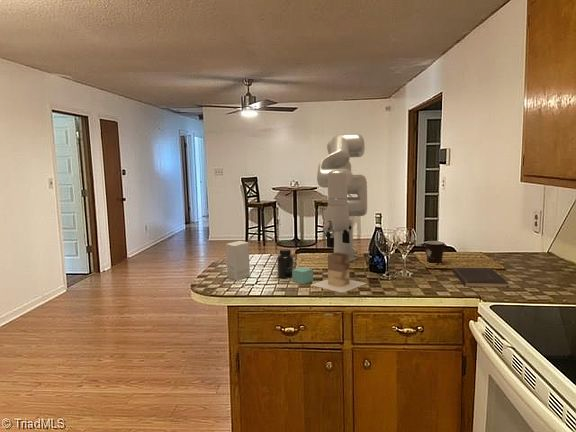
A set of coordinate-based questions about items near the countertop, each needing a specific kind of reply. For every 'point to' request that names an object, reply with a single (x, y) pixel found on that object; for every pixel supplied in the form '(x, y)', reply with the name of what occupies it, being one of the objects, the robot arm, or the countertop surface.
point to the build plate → (342, 289)
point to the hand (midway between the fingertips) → (338, 245)
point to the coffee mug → (434, 251)
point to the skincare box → (238, 260)
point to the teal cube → (302, 275)
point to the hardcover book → (479, 277)
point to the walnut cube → (338, 262)
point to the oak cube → (338, 278)
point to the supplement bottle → (285, 264)
